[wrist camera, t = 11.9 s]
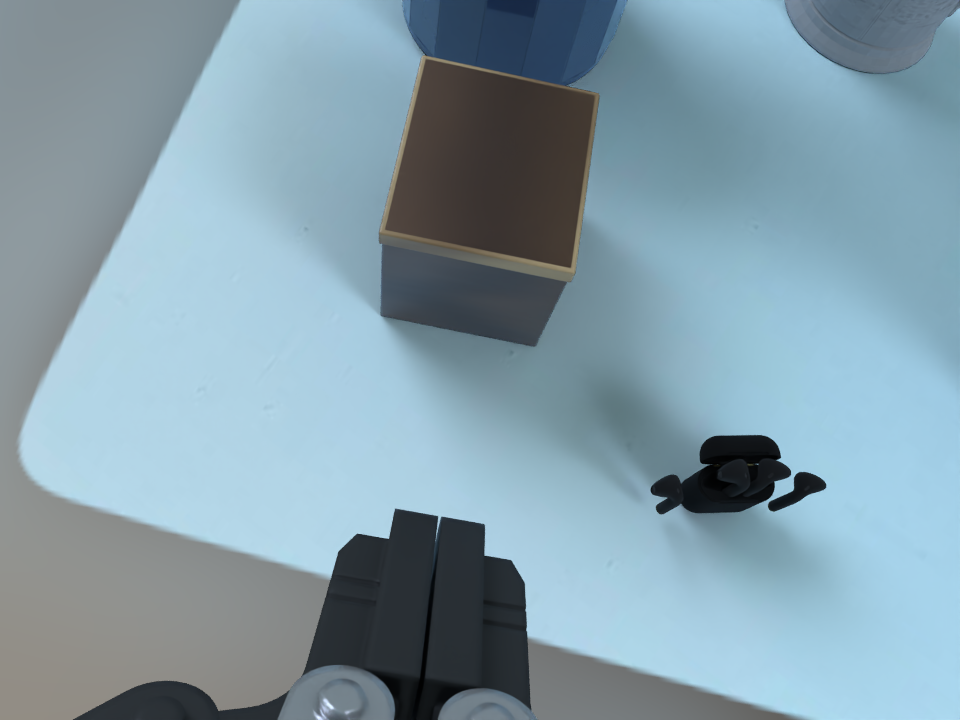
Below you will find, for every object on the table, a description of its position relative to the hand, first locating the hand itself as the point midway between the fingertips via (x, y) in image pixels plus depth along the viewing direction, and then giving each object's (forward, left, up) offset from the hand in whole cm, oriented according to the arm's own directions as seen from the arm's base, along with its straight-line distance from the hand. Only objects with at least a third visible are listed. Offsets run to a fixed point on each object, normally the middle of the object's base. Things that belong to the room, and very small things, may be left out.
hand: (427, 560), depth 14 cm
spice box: (0, +17, -20) cm, 26 cm away
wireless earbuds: (+12, +8, -20) cm, 25 cm away
